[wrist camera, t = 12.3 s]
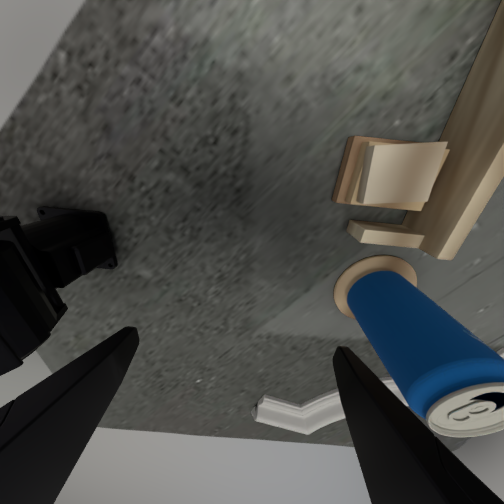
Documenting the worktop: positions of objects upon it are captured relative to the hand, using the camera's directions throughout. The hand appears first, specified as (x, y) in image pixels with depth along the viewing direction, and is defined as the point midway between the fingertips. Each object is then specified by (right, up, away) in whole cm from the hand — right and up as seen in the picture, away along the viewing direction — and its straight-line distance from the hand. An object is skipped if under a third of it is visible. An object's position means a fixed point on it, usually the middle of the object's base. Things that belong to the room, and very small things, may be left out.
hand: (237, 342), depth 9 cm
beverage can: (+15, 0, +14) cm, 20 cm away
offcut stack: (+12, +11, +9) cm, 18 cm away
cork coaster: (+15, 0, +14) cm, 20 cm away
